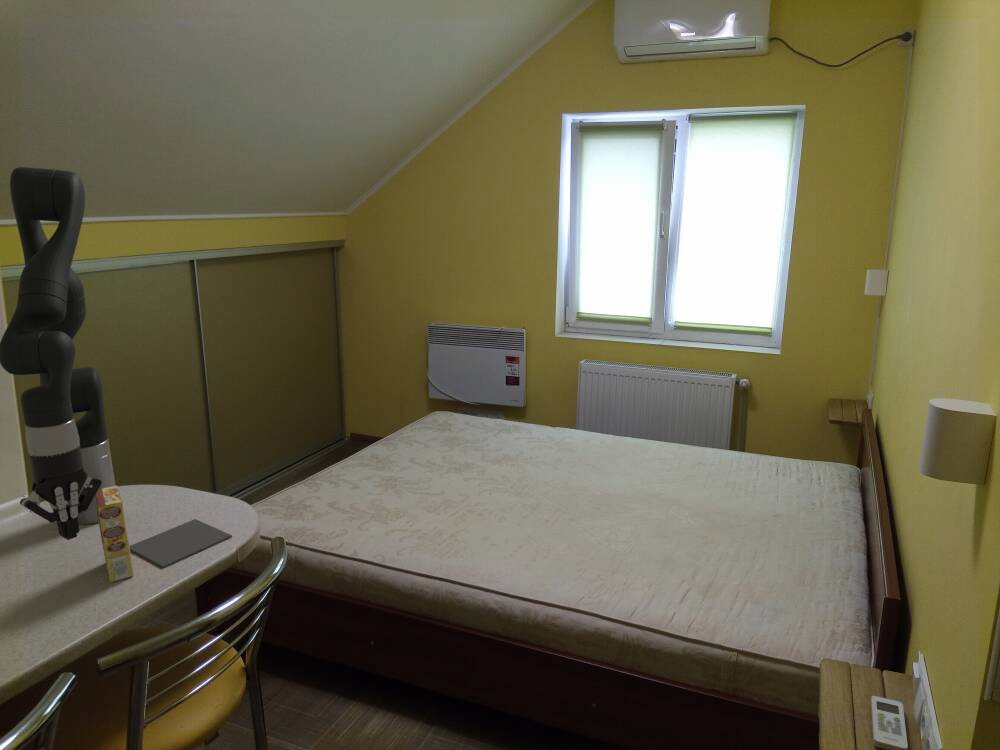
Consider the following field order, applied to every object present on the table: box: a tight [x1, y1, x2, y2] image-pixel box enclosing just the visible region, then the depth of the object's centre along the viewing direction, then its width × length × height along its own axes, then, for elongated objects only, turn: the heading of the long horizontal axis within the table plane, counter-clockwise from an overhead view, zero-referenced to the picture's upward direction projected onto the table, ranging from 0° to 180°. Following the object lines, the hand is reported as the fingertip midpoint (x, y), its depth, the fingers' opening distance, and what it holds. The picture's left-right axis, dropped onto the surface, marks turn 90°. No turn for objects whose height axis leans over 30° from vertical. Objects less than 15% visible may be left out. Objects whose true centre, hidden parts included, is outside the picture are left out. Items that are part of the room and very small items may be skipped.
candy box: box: [95, 485, 135, 583], centre depth 131 cm, size 9×4×15 cm, turn 34°
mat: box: [129, 518, 233, 569], centre depth 143 cm, size 13×15×1 cm
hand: (70, 537), depth 125 cm, fingers closed
